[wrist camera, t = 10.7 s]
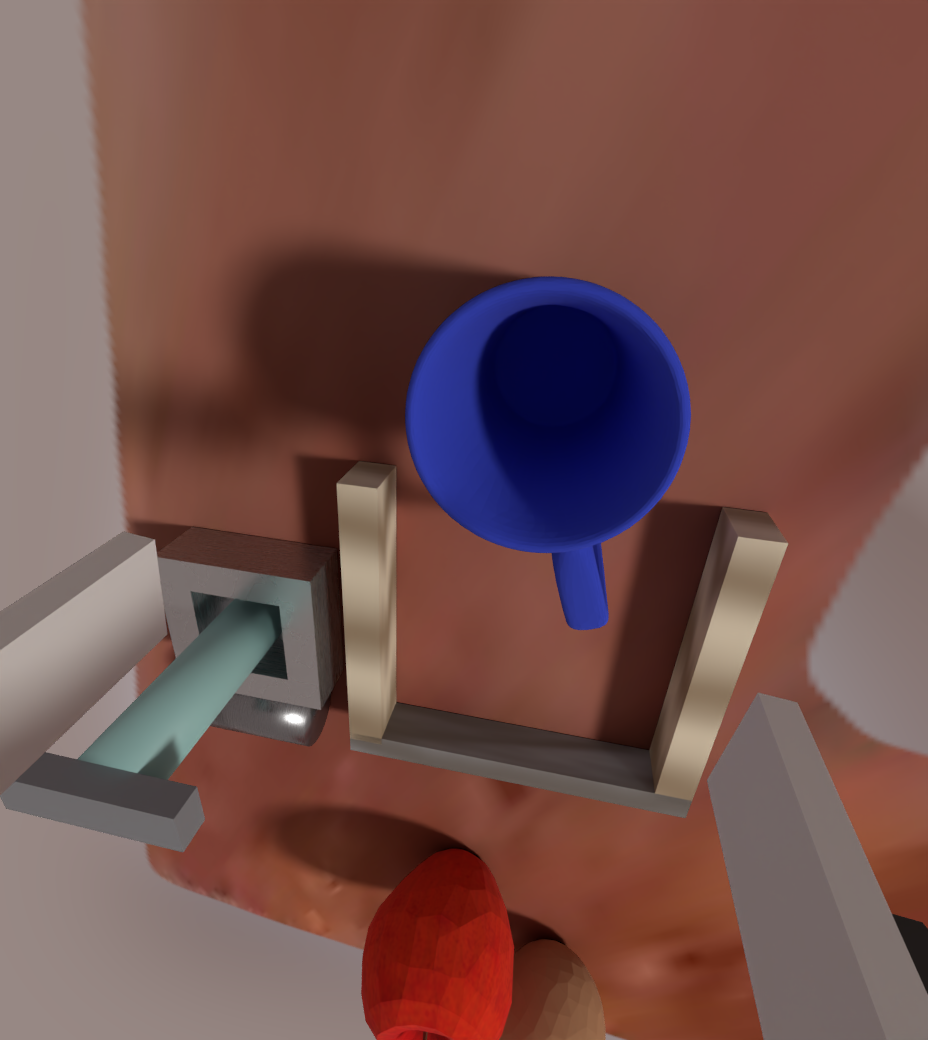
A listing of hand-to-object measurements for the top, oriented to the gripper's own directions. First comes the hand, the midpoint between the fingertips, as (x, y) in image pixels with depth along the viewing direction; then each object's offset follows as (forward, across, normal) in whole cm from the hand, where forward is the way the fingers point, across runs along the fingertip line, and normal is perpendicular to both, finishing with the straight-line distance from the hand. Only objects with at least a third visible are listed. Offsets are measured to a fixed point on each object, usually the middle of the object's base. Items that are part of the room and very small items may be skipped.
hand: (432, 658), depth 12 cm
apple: (+16, +3, -35) cm, 38 cm away
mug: (+17, +2, +2) cm, 17 cm away
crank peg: (+15, -12, -14) cm, 24 cm away
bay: (+16, +3, -11) cm, 20 cm away
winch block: (+16, -12, -16) cm, 26 cm away
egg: (+16, +12, -42) cm, 46 cm away
